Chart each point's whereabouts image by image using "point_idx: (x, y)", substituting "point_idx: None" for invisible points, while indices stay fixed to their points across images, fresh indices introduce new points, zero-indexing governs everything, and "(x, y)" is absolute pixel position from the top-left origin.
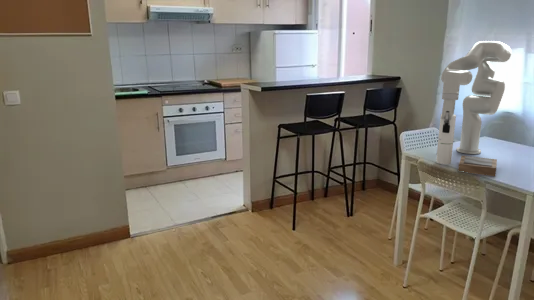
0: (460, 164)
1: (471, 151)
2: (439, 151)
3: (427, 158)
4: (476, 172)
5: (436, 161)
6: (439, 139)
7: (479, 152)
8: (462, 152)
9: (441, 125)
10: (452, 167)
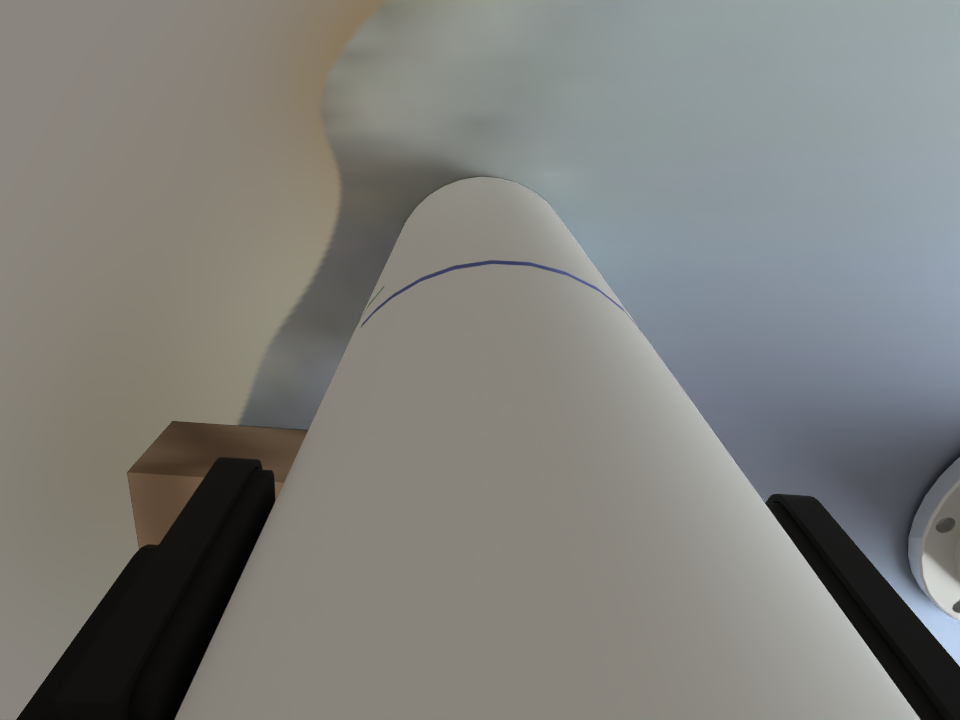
0: (132, 485)
1: (956, 556)
2: (399, 246)
3: (616, 44)
4: None
5: (455, 183)
6: (402, 289)
7: (948, 613)
8: (955, 467)
9: (275, 563)
10: (309, 368)
